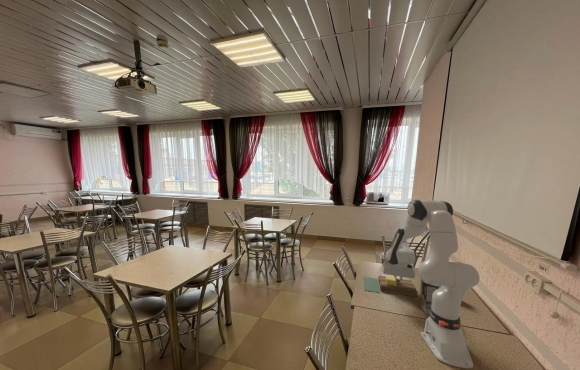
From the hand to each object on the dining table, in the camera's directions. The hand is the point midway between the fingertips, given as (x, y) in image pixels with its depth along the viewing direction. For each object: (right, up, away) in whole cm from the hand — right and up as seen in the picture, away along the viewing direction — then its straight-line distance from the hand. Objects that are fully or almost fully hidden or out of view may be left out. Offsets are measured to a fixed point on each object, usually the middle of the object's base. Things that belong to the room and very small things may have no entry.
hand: (397, 281), depth 152 cm
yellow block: (-4, -1, +1) cm, 5 cm away
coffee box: (+7, -7, -22) cm, 24 cm away
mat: (-17, -4, +5) cm, 18 cm away
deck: (-1, -5, 0) cm, 5 cm away
